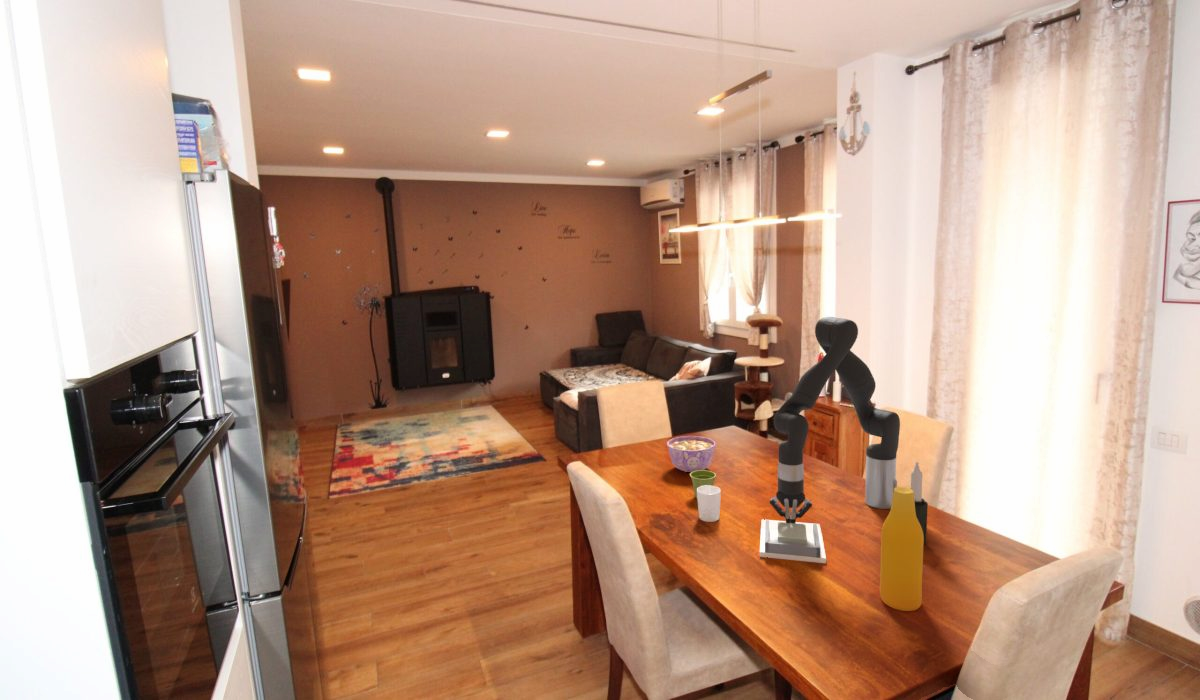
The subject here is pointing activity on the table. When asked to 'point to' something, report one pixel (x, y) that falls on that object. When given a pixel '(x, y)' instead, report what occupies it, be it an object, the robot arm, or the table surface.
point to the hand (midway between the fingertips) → (790, 528)
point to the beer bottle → (902, 554)
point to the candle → (919, 499)
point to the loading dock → (792, 551)
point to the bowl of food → (691, 452)
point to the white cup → (709, 502)
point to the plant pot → (702, 479)
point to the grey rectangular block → (792, 533)
